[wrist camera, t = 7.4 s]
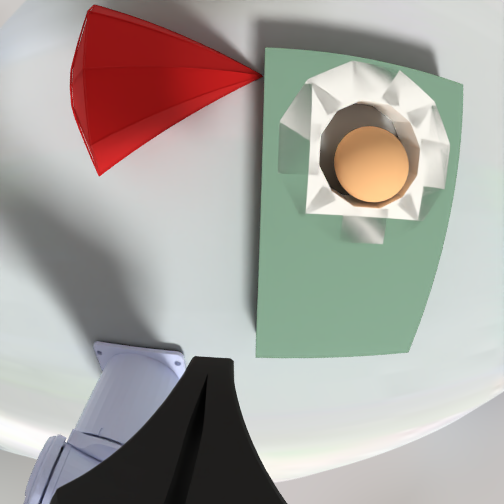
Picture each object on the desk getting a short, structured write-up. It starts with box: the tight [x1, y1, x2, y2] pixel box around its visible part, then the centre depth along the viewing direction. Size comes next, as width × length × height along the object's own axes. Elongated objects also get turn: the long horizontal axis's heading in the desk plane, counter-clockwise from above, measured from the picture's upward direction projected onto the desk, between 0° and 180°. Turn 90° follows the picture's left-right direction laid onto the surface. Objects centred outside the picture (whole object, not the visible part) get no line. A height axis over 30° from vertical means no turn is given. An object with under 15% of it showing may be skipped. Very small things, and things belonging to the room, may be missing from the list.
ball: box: [334, 126, 409, 202], centre depth 15 cm, size 4×4×4 cm
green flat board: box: [256, 48, 463, 358], centre depth 17 cm, size 18×11×2 cm, turn 179°
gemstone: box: [70, 5, 263, 176], centre depth 13 cm, size 9×9×10 cm
